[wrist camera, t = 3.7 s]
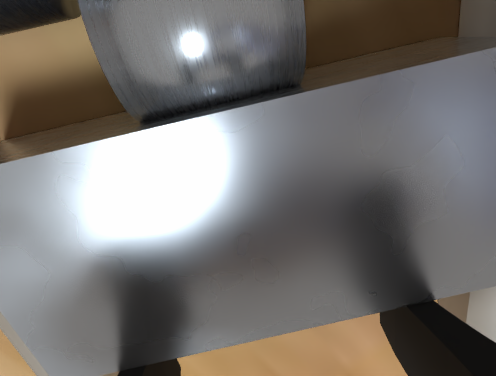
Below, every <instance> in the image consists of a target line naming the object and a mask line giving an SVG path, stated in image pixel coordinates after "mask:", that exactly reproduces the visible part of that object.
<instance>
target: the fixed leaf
mask: <svg viewBox="0 0 496 376" xmlns="http://www.w3.org/2000/svg"><path fill="white" fill-rule="evenodd" d="M80 15H81V12H80V8H79V4H78V0H0V36H1V35H5V34H9V33H14V32H18V31H23V30H27V29H31V28H36V27H40V26H44V25H49V24H53V23H57V22H62V21H66V20H70V19H75V18H77V17H79V16H80Z"/></svg>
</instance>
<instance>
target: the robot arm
mask: <svg viewBox="0 0 496 376" xmlns="http://www.w3.org/2000/svg"><path fill="white" fill-rule="evenodd" d="M380 324H381V326H382V328H383V330H384V332H385V334H386V336H387V339H388V341H389V343H390V345H391V347H392V349H393V351H394V353H395V355H396V357H397V358H398V360H399V362H400V363H401V365H402V367H403V368H404V370H405V372H406V373H407V375H408V376H496V342H494V341H492V340H491V339H489V338H488V337H486V336H484V335H483V334H481V333H480V332H478V331H477V330H475V329H474V328H472V327H471V326H469V325H468V324H466V323H465V322H463V321H462V320H461V319H459V318H458V317H456V316H455V315H453V314H452V313H450V312H449V311H447V310H446V309H445V308H443V307H442V306H440V305H439V304H438V303H436V302H435V301H433V300H432V301H428V302H423V303H419V304H415V305H410V306H406V307H401V308H397V309H392V310H388V311H384V312H380ZM117 376H181V367H180V365H179V363H178V361H177V358H175V359H171V360H166V361H162V362H158V363H153V364H149V365H144V366H140V367H135V368H131V369H127V370H122V371H120V372H119V373H118V375H117Z"/></svg>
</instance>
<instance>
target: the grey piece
mask: <svg viewBox="0 0 496 376" xmlns="http://www.w3.org/2000/svg"><path fill="white" fill-rule="evenodd" d="M78 4H79V8H80V12H81V15H82V19H83V22H84V25H85V28H86V31H87V34H88V36H89V39H90V42H91V44H92V47H93V49H94V52H95V54H96V57H97V59H98V61H99V64H100V66H101V68H102V70H103V72H104V74H105V76H106V78H107V80H108V82H109V84H110V86H111V88H112V89H113V91H114V93H115V95H116V96H117V98H118V99H119V101H120V102H121V104H122V105H123V106H124V108H125V109H126V112H121V113H117V114H113V115H109V116H104V117H100V118H96V119H92V120H87V121H83V122H79V123H75V124H70V125H66V126H62V127H58V128H54V129H49V130H45V131H41V132H37V133H32V134H28V135H24V136H20V137H15V138H11V139H7V140H3V141H1V142H0V312H1V313H2V314H3V316H4V317H5V318H6V320H7V321H8V322H9V324H10V325H11V326H12V328H13V329H14V330H15V332H16V333H17V334H18V335H19V337H20V338H21V339H22V341H23V342H24V343H25V345H26V346H27V347H28V349H29V350H30V351H31V353H32V354H33V355H34V356H35V358H36V359H37V360H38V362H39V363H40V364H41V366H42V367H43V368H44V370H45V371H46V372H47V374H48V375H49V376H100V375H104V374H109V373H113V372H118V371H122V370H127V369H131V368H135V367H140V366H144V365H149V364H153V363H158V362H162V361H166V360H171V359H175V358H180V357H184V356H189V355H193V354H198V353H202V352H206V351H211V350H215V349H220V348H224V347H229V346H233V345H237V344H242V343H246V342H251V341H255V340H260V339H264V338H268V337H273V336H277V335H282V334H286V333H291V332H295V331H299V330H304V329H308V328H313V327H317V326H322V325H326V324H330V323H335V322H339V321H344V320H348V319H353V318H357V317H361V316H366V315H370V314H375V313H379V312H384V311H388V310H392V309H397V308H401V307H406V306H410V305H415V304H419V303H423V302H428V301H432V300H437V299H441V298H446V297H450V296H455V295H459V294H463V293H468V292H472V291H477V290H481V289H486V288H490V287H494V286H496V37H439V38H435V39H430V40H426V41H422V42H418V43H413V44H409V45H405V46H401V47H396V48H392V49H388V50H384V51H379V52H375V53H371V54H367V55H363V56H358V57H354V58H350V59H346V60H341V61H337V62H333V63H329V64H324V65H320V66H316V67H312V68H308V69H305V63H306V25H305V12H304V2H303V0H78Z"/></svg>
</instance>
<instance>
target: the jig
mask: <svg viewBox="0 0 496 376" xmlns="http://www.w3.org/2000/svg"><path fill="white" fill-rule="evenodd" d="M458 37H496V0H461V9H460V22H459V35H458ZM438 304H439V305H440V306H442V307H443V308H445V309H446V310H447V311H449V312H450V313H452V314H453V315H455V316H456V317H458V318H459V319H461V320H462V321H463V322H465V323H466V324H468V325H469V326H471V327H472V328H474V329H475V330H477V331H478V332H480V333H481V334H483V335H484V336H486V337H488V338H489V339H491V340H492V341H494V342H496V286H494V287H490V288H486V289H481V290H477V291H472V292H468V293H463V294H459V295H455V296H450V297H446V298H441V299H438ZM0 329H1V330H2V331H3V333H4V334H5V335H6V337H7V338H8V339H9V340H10V342H11V343H12V344H13V346H14V347H15V348H16V350H17V351H18V352H19V353H20V355H21V356H22V357H23V359H24V360H25V361H26V362H27V364H28V365H29V366H30V368H31V369H32V370H33V372H34V373H35V374H36V375H37V376H49V375H48V374H47V372H46V371H45V370H44V368H43V367H42V366H41V364H40V363H39V362H38V360H37V359H36V358H35V356H34V355H33V354H32V353H31V351H30V350H29V349H28V347H27V346H26V345H25V343H24V342H23V341H22V339H21V338H20V337H19V335H18V334H17V333H16V332H15V330H14V329H13V328H12V326H11V325H10V324H9V322H8V321H7V320H6V318H5V317H4V316H3V314H2V313H1V312H0ZM119 372H120V371H118V372H113V373H109V374H104V375H100V376H117V375H118V373H119Z"/></svg>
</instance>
